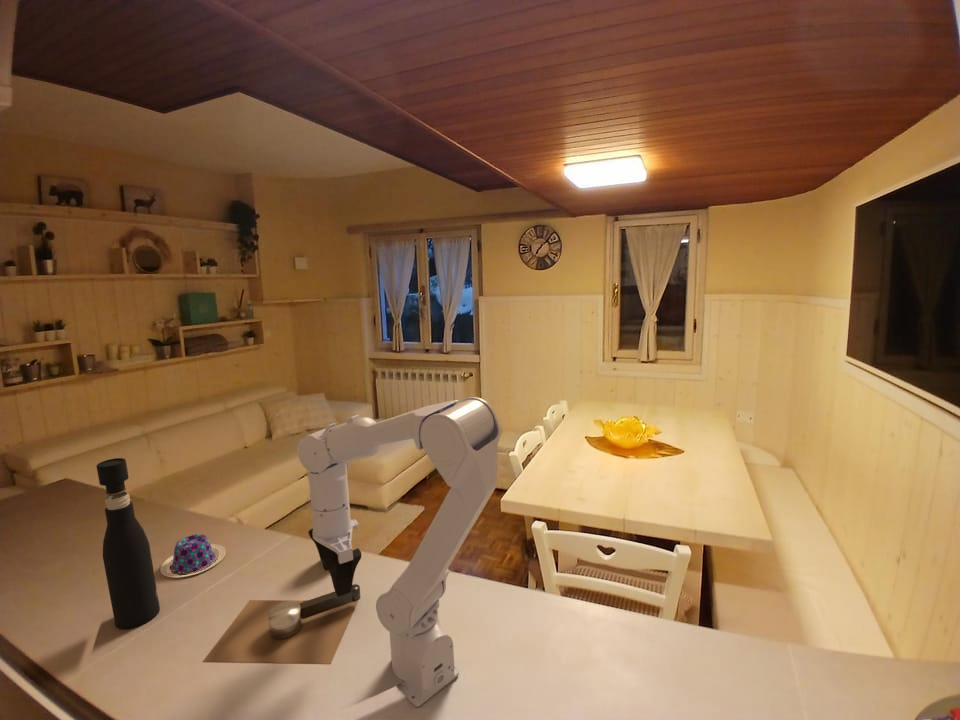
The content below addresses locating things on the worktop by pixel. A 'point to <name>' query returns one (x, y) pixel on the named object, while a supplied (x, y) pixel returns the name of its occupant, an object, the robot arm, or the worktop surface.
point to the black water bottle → (126, 553)
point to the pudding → (192, 555)
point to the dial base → (307, 646)
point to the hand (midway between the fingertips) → (336, 580)
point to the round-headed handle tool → (305, 611)
